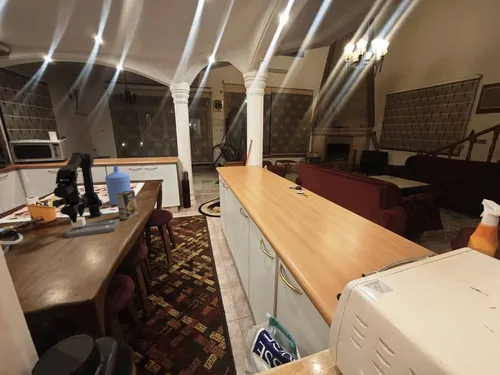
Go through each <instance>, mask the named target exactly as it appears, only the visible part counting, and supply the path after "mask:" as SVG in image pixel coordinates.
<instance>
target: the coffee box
mask: <svg viewBox="0 0 500 375" xmlns="http://www.w3.org/2000/svg"><path fill="white" fill-rule="evenodd" d="M116 198H117V204H118V205H117V211H118V216H119V220H120V219H121V220H129V219H131V218H133V217H134V216H135V217H136V216H137V215H138V207H137V206H138V205H137V199H136V193H135V190H131V191H124V192H121V193H119V194H116Z"/></svg>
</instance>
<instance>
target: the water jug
mask: <svg viewBox="0 0 500 375" xmlns="http://www.w3.org/2000/svg"><path fill="white" fill-rule="evenodd" d="M104 178H105V183H106V188H107V194H108V198H109V199H108V200H109V204H110V205H111V206H118V204H117V198H116V194H119V193H121V192H124V191H132V189H131V181H130V180H131V178H130V174H128V173H126V172H122V171H120V170H119V165H113V172H111V173H109V174H108V175H105V177H104Z"/></svg>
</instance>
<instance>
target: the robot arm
mask: <svg viewBox="0 0 500 375" xmlns="http://www.w3.org/2000/svg"><path fill="white" fill-rule="evenodd" d="M94 161H95V158H94V155H92V154H88V153H85V152H82V151H81V152H80V151H79V152H72V153H71V157H70V158H69V160H68V161H67V163H66V164H65V165H63V166H61V167H60V168H59V169H58V170H57V171H56V177H55V185H56V187H55V188H54V189H53V195H54V196H55V197H57V198H59V199H55V200H52V203H51V204H52V207H55V209H58V208H60V207H61V208H60V209H59V211H60V212H59V213H60V215H61V214H62V215H66V216H68V217H69V219H70V221H71V220H72V222H73V223H76V221H77V218H78V215H79V217H84V216H83V215H84V212H85V209H87V210H88V213H89V215H88V217H87V218H89V219H91V218H97V217H101V216H102V214H103V212H102V211H101V210H100V208H101V207H102V206H103V201H102V200H101V199H100V197H99V195H98V193H96V191H95V187H94V180H93V172H92V168H93V167H94ZM79 168H80V169H81V173H82V180H83V181H82V182H83V187H84V194H83V195H82V194H81V191H79V188H78V183H77V182H78V176H79V175H78V174H79V173H78V169H79ZM81 195H82V196H81ZM62 206H63V207H62Z"/></svg>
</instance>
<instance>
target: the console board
mask: <svg viewBox="0 0 500 375" xmlns="http://www.w3.org/2000/svg"><path fill="white" fill-rule="evenodd" d="M119 225H120V218H114V219H113V218H112V219H107V220H98V221H89V222H86V224H85V225H84V226H81V227H79V228H78V227H73V228H72V227H71V229H69V230H68V232H67V233H66V234H65V235H66V238H73V237H81V236H89V235H94V234H104V233H110V232H115V231H116V230H117V228H118V226H119Z"/></svg>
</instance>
